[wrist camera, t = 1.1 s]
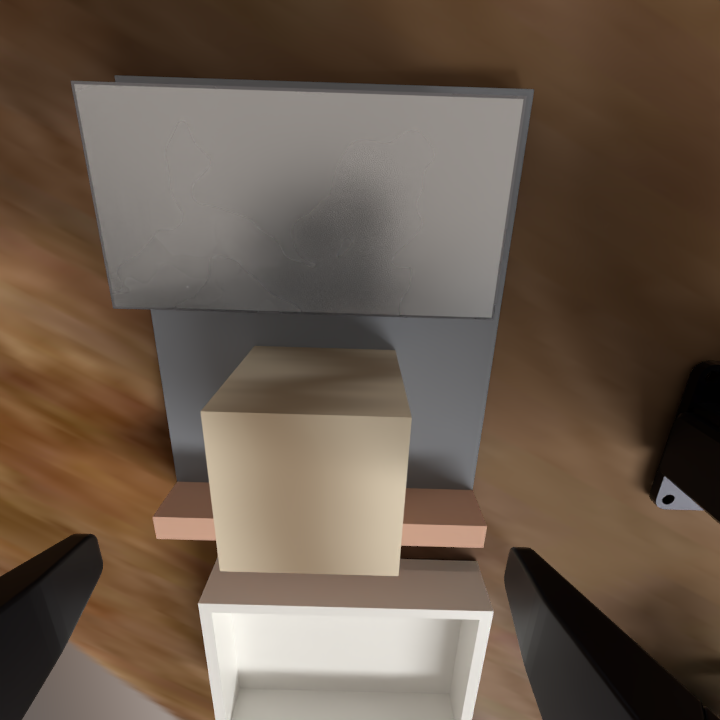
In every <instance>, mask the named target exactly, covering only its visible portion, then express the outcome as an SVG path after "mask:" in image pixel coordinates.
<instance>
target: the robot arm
mask: <svg viewBox="0 0 720 720" xmlns="http://www.w3.org/2000/svg"><path fill="white" fill-rule="evenodd" d="M710 372H711V374H710V375H709V377H707V378H706V376H707V374H708V373H710ZM664 496H665V497H664ZM649 497H650V499H651V500H652V501H653V502H654V503H655V504H656V505H657V506H658V507H659V508H661V509H673V510H704V511H705V512H706V513H708V514H709V515H710V516H711V517H712V518H713V519H715V520H716V521H717V522H718V523H719V524H720V361H704V362H701V363H699V364H697V365H696V366H695V367H694V368H693V370H692V371H691V373H690V376H689V379H688V382H687V385H686V388H685V391H684V394H683V397H682V400H681V403H680V406H679V409H678V412H677V414H676V417H675V420H674V423H673V426H672V429H671V432H670V435H669V438H668V441H667V444H666V447H665V450H664V453H663V456H662V459H661V461H660V464H659V467H658V470H657V473H656V476H655V479H654V482H653V485H652V488H651V491H650V496H649ZM102 569H103V560H102V556H101V552H100V548H99V544H98V540H97V537H96V536H95V535H93V534H73V535H71V536H69V537H67V538H66V539H64V540H62V541H60V542H59V543H57V544H55V545H54V546H52V547H50V548H48V549H47V550H45V551H43V552H42V553H40V554H38V555H36V556H35V557H33V558H31V559H30V560H28V561H26V562H24V563H23V564H21V565H19V566H18V567H16V568H14V569H13V570H11V571H9V572H7V573H6V574H4V575H2V576H1V577H0V720H22V718H23V717H24V715H25V714H26V712H27V710H28V709H29V707H30V705H31V704H32V702H33V700H34V699H35V697H36V695H37V694H38V692H39V690H40V689H41V687H42V685H43V684H44V682H45V681H46V679H47V677H48V676H49V674H50V672H51V670H52V669H53V667H54V665H55V664H56V662H57V660H58V659H59V657H60V655H61V653H62V652H63V650H64V648H65V646H66V644H67V642H68V640H69V638H70V636H71V634H72V632H73V630H74V628H75V626H76V624H77V622H78V620H79V618H80V616H81V614H82V612H83V610H84V608H85V606H86V604H87V602H88V600H89V598H90V596H91V594H92V592H93V590H94V588H95V586H96V584H97V582H98V579H99V577H100V575H101V573H102ZM504 583H505V589H506V593H507V597H508V601H509V605H510V609H511V613H512V617H513V622H514V626H515V630H516V634H517V638H518V642H519V646H520V651H521V654H522V658H523V662H524V666H525V669H526V672H527V675H528V678H529V681H530V684H531V687H532V690H533V693H534V696H535V699H536V702H537V705H538V708H539V710H540V713H541V716H542V719H543V720H720V718H719V717H718V716H717V715H716V714H714V713H713V712H712V711H711V710H710V709H709V708H708V707H705V706H704V707H703V705H702V703H701V701H700V700H699V699H698V698H696V697H695V696H694V695H693V694H692V693H691V692H690V691H689V690H688V689H687V688H685V687H684V686H683V685H682V684H681V683H680V682H679V681H678V680H677V679H675V678H674V677H673V676H672V675H671V674H670V673H669V672H668V671H667V670H665V669H664V668H663V667H662V666H661V665H660V664H659V663H658V662H657V661H656V660H654V659H653V658H652V657H651V656H650V655H649V654H648V653H647V652H646V651H644V650H643V649H642V648H641V647H640V646H639V645H638V644H637V643H636V642H634V641H633V640H632V639H631V638H630V637H629V636H628V635H627V634H626V633H625V632H623V631H622V630H621V629H620V628H619V627H618V626H617V625H616V624H615V623H613V622H612V621H611V620H610V619H609V618H608V617H607V616H606V615H605V614H604V613H602V612H601V611H600V610H599V609H598V608H597V607H596V606H595V605H594V604H592V603H591V602H590V601H589V600H588V599H587V598H586V597H585V596H584V595H582V594H581V593H580V592H579V591H578V590H577V589H576V588H575V587H574V586H573V585H571V584H570V583H569V582H568V581H567V580H566V579H565V578H564V577H563V576H561V575H560V574H559V573H558V572H557V571H556V570H555V569H554V568H553V567H551V566H550V565H549V564H548V563H547V562H546V561H545V560H544V559H543V558H542V557H540V556H539V555H538V554H537V553H536V552H535V551H534V550H532V549H531V548H527V547H513V548H511V549H510V551H509V555H508V560H507V565H506V570H505V575H504Z"/></svg>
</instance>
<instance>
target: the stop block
mask: <svg viewBox="0 0 720 720" xmlns="http://www.w3.org/2000/svg"><path fill="white" fill-rule="evenodd" d="M201 420H202V428H203V436H204V444H205V453H206V461H207V469H208V477H209V486H210V494H211V502H212V510H213V519H214V527H215V535H216V543H217V552H218V560H219V568H220V571H228V572H265V573H301V574H338V575H374V576H399V564H400V552H401V540H402V528H403V516H404V505H405V493H406V481H407V469H408V457H409V445H410V433H411V421H412V416H411V412H410V408H409V404H408V400H407V396H406V392H405V388H404V384H403V379H402V375H401V371H400V367H399V363H398V359H397V355H396V351H395V350H375V349H342V348H308V347H275V346H254V347H253V348H252V350H251V351H250V352H249V353H248V354H247V356H246V357H245V358H244V359H243V361H242V362H241V363H240V364H239V365H238V367H237V368H236V369H235V370H234V371H233V373H232V374H231V375H230V376H229V377H228V379H227V380H226V381H225V382H224V384H223V385H222V386H221V387H220V388H219V390H218V391H217V392H216V393H215V394H214V396H213V397H212V398H211V399H210V401H209V402H208V403H207V404H206V405H205V407H204V408H203V409H202V410H201Z"/></svg>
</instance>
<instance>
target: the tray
mask: <svg viewBox="0 0 720 720" xmlns="http://www.w3.org/2000/svg"><path fill="white" fill-rule="evenodd" d="M198 607H199V613H200V620H201V626H202V633H203V639H204V646H205V653H206V659H207V666H208V672H209V679H210V686H211V692H212V699H213V705H214V712H215V719H216V720H472V716H473V711H474V706H475V701H476V696H477V691H478V686H479V681H480V676H481V671H482V666H483V662H484V657H485V652H486V647H487V642H488V637H489V632H490V627H491V622H492V617H493V612H494V611H493V608H492V605H491V602H490V599H489V596H488V593H487V590H486V587H485V584H484V581H483V578H482V575H481V572H480V569H479V566H478V563H477V561H456V560H420V559H400V564H399V576H374V575H338V574H301V573H265V572H228V571H220V568H219V560H218V557H217V560H216V562H215V565H214V567H213V569H212V572H211V574H210V576H209V579H208V581H207V583H206V586H205V588H204V591H203V593H202V595H201V598H200V600H199V602H198Z"/></svg>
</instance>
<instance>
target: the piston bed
mask: <svg viewBox="0 0 720 720" xmlns="http://www.w3.org/2000/svg"><path fill="white" fill-rule="evenodd" d="M115 82H123V83H153V84H183V85H213V86H243V87H274V88H304V89H334V90H364V91H394V92H424V93H454V94H484V95H515V96H527V98H526V105H525V112H524V118H523V125H522V132H521V138H520V145H519V152H518V159H517V165H516V172H515V179H514V185H513V192H512V199H511V205H510V212H509V219H508V226H507V232H506V239H505V246H504V252H503V259H502V266H501V272H500V279H499V286H498V293H497V299H496V306H495V313H494V319H493V320H477V319H444V318H411V317H378V316H346V315H313V314H280V313H247V312H215V311H182V310H151V315H152V322H153V328H154V335H155V341H156V348H157V354H158V361H159V367H160V374H161V380H162V387H163V393H164V400H165V406H166V413H167V419H168V426H169V432H170V439H171V445H172V452H173V458H174V464H175V471H176V477H177V483H176V484H175V485H174V487H173V488H172V490H171V491H170V493H169V494H168V496H167V497H166V498H165V500H164V501H163V503H162V504H161V506H160V507H159V508H158V510H157V511H156V513H155V514H154V516H153V522H154V527H155V532H156V538H157V539H182V540H216V535H215V527H214V519H213V510H212V502H211V494H210V486H209V477H208V469H207V461H206V453H205V444H204V436H203V428H202V420H201V410H202V409H203V408H204V407H205V405H206V404H207V403H208V402H209V401H210V399H211V398H212V397H213V396H214V394H215V393H216V392H217V391H218V390H219V388H220V387H221V386H222V385H223V384H224V382H225V381H226V380H227V379H228V377H229V376H230V375H231V374H232V373H233V371H234V370H235V369H236V368H237V367H238V365H239V364H240V363H241V362H242V361H243V359H244V358H245V357H246V356H247V354H248V353H249V352H250V351H251V350H252V348H253V347H254V346H275V347H308V348H342V349H375V350H395V351H396V355H397V359H398V363H399V367H400V371H401V375H402V379H403V384H404V388H405V392H406V396H407V400H408V404H409V408H410V412H411V416H412V421H411V433H410V445H409V457H408V469H407V481H406V493H405V505H404V516H403V528H402V540H401V546H434V547H470V548H483V546H484V541H485V535H486V529H487V525H486V522H485V520H484V517H483V515H482V512H481V510H480V507H479V505H478V502H477V500H476V497H475V495H474V492H473V484H474V477H475V471H476V464H477V458H478V451H479V445H480V438H481V432H482V425H483V419H484V412H485V406H486V399H487V393H488V386H489V380H490V373H491V367H492V360H493V354H494V347H495V341H496V334H497V328H498V321H499V315H500V308H501V302H502V295H503V289H504V283H505V276H506V270H507V263H508V257H509V250H510V244H511V237H512V231H513V224H514V218H515V211H516V205H517V198H518V192H519V185H520V179H521V172H522V166H523V159H524V153H525V146H526V140H527V133H528V127H529V120H530V114H531V107H532V101H533V94H534V89H509V88H479V87H449V86H419V85H389V84H359V83H328V82H298V81H268V80H238V79H208V78H178V77H148V76H118V75H115Z"/></svg>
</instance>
